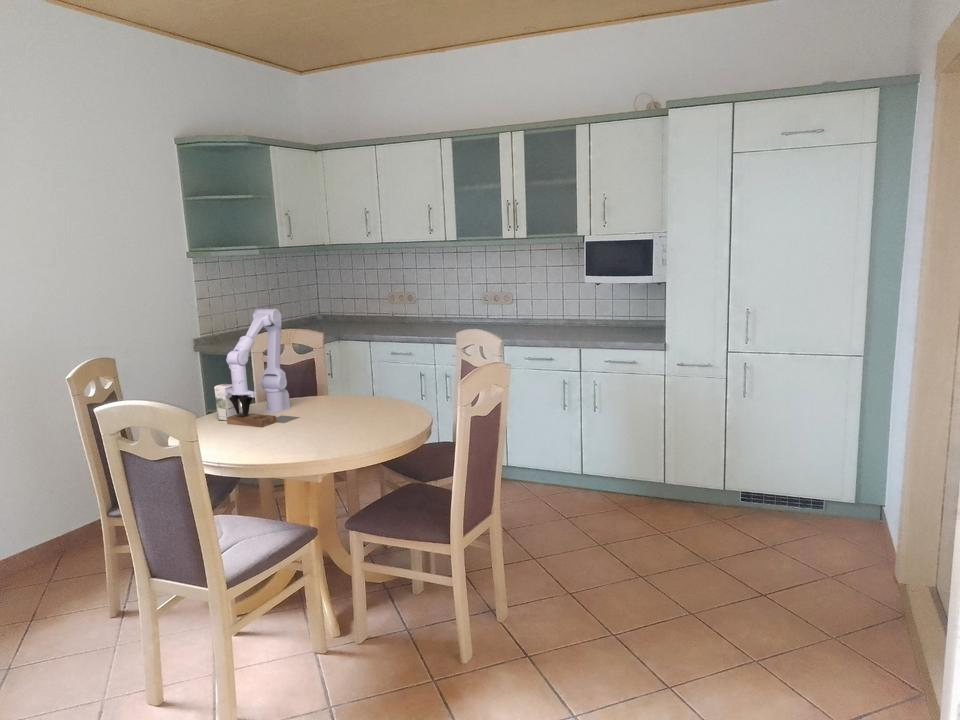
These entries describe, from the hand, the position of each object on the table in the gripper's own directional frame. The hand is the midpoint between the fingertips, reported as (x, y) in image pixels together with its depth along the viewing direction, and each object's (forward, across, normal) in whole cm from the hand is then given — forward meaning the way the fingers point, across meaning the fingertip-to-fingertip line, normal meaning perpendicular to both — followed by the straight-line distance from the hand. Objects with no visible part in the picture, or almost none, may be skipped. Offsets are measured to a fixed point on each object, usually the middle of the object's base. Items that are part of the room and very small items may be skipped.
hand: (242, 413), depth 282 cm
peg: (+3, 0, 0) cm, 3 cm away
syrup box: (+4, -12, +3) cm, 13 cm away
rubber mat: (+4, +12, +9) cm, 16 cm away
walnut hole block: (+4, +4, 0) cm, 6 cm away
